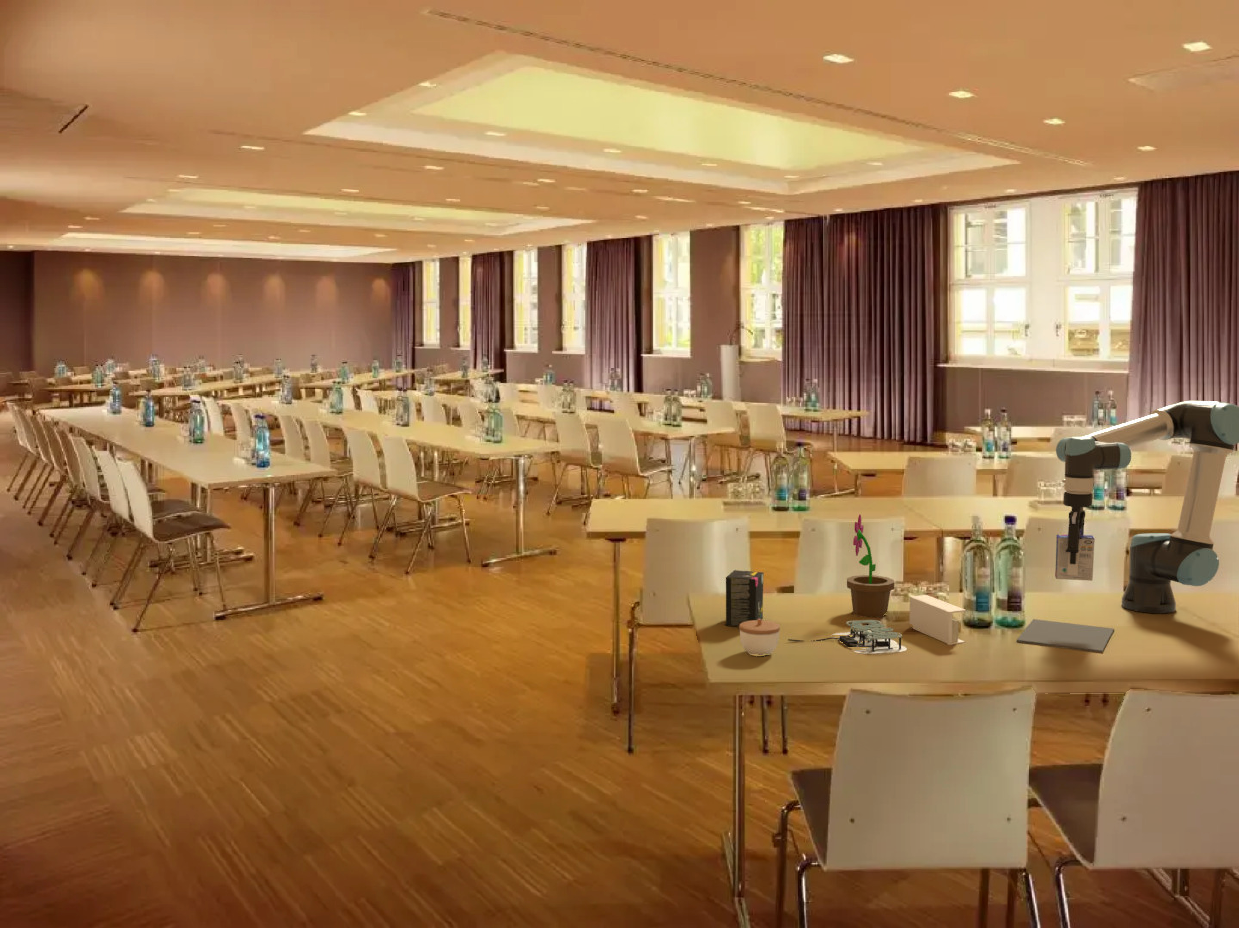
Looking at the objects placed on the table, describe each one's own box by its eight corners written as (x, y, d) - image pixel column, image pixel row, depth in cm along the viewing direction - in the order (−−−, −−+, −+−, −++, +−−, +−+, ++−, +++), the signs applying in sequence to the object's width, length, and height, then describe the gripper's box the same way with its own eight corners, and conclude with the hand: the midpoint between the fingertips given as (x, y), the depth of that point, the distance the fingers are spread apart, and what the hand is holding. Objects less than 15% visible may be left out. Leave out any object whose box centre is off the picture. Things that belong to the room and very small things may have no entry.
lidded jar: (784, 658, 302) (785, 623, 301) (745, 660, 301) (745, 625, 299) (772, 646, 313) (773, 613, 312) (734, 648, 311) (734, 615, 310)
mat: (1033, 621, 338) (1033, 619, 338) (1113, 630, 327) (1114, 628, 327) (1016, 641, 316) (1016, 639, 316) (1102, 652, 305) (1102, 650, 305)
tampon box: (756, 628, 331) (756, 579, 329) (724, 626, 334) (725, 577, 332) (763, 619, 342) (764, 571, 340) (733, 616, 345) (733, 569, 343)
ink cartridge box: (1090, 576, 326) (1093, 526, 324) (1093, 581, 321) (1096, 530, 319) (1054, 574, 329) (1056, 525, 327) (1056, 579, 324) (1058, 529, 321)
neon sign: (781, 623, 322) (878, 617, 328) (781, 638, 323) (878, 632, 329) (808, 644, 302) (912, 637, 307) (808, 660, 302) (911, 653, 308)
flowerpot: (851, 605, 357) (853, 510, 353) (898, 610, 351) (900, 513, 347) (840, 616, 344) (842, 518, 341) (888, 621, 338) (890, 521, 335)
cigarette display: (965, 643, 315) (966, 610, 314) (948, 645, 314) (949, 611, 312) (922, 625, 334) (923, 593, 333) (906, 627, 332) (907, 595, 331)
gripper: (1068, 486, 332) (1065, 564, 335) (1058, 495, 315) (1055, 577, 318) (1096, 488, 328) (1092, 567, 331) (1087, 497, 312) (1083, 580, 314)
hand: (1074, 572), depth 325 cm, fingers closed on ink cartridge box, 6 cm apart
